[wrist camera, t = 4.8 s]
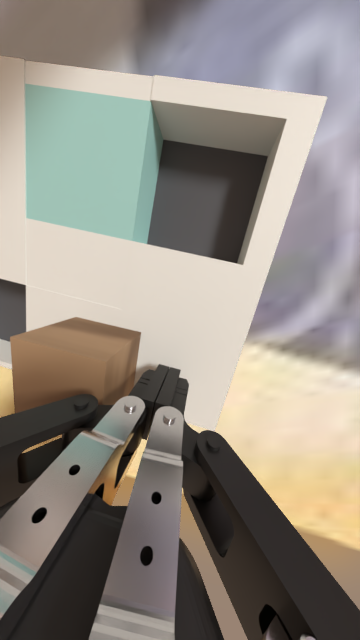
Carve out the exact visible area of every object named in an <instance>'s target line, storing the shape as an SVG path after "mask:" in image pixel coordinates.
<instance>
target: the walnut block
mask: <svg viewBox="0 0 360 640" xmlns="http://www.w3.org/2000/svg"><path fill="white" fill-rule="evenodd" d="M140 338H141V332H138V331H134V330H129V329H125V328H121V327H117V326H112V325H108V324H104V323H100V322H95V321H91V320H87V319H83V318H79V317H74V318H71V319H67V320H64V321H61V322H58V323H54V324H51V325H48V326H44V327H41V328H38V329H35V330H31V331H28V332H25V333H21V334H18V335H15V336H12V337H10V343H11V359H12V374H13V390H14V405H15V413H18V412H21V411H25V410H28V409H32V408H35V407H38V406H42V405H45V404H48V403H52V402H55V401H59V400H62V399H65V398H69V397H72V396H75V395H79V394H90V395H93V396H95V397H96V398H97V400H98V405H114V404H116V402H117V401H118V400H119V399H121V398H123V397H125V396H128V395H129V393H130V392H131V390H132V389H133V387H134V380H135V373H136V366H137V359H138V352H139V345H140Z"/></svg>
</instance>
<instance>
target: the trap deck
mask: <svg viewBox="0 0 360 640" xmlns="http://www.w3.org/2000/svg"><path fill="white" fill-rule="evenodd" d="M326 100H327V97H325V96H317V95H309V94H301V93H293V92H285V91H277V90H269V89H261V88H253V87H245V86H237V85H229V84H221V83H213V82H205V81H197V80H190V79H182V78H174V77H166V76H158V75H154V77H153V76H145V75H137V74H129V73H121V72H113V71H105V70H97V69H90V68H82V67H74V66H66V65H58V64H50V63H42V62H34V61H26V60H24V59H23V58H15V57H7V56H0V366H2V367H5V368H9V369H12V359H11V343H10V337H12V336H15V335H18V334H21V333H25V332H28V331H31V330H35V329H38V328H41V327H44V326H48V325H51V324H54V323H58V322H61V321H64V320H67V319H71V318H74V317H79V318H83V319H87V320H91V321H95V322H100V323H104V324H108V325H112V326H117V327H121V328H125V329H129V330H134V331H138V332H141V338H140V345H139V352H138V359H137V366H136V373H135V380H134V386H135V384H136V383H137V382H138V380H139V379H140V377H141V376H142V374H143V373H144V372H145V371H147V370H149V369H151V370H154V371H155V370H156V368H157V367H158V365H159V364H161V365H165V366H169V367H173V368H176V369H180V370H181V371H180V376H179V377H180V378H184V379H187V381H188V383H189V388H188V394H187V400H186V406H185V411H184V419H185V421H186V423H189V424H192V425H195V426H199V427H202V428H205V429H208V430H212V431H215V428H216V425H217V422H218V419H219V417H220V414H221V411H222V408H223V405H224V402H225V399H226V396H227V393H228V390H229V387H230V384H231V381H232V378H233V375H234V372H235V369H236V366H237V363H238V360H239V357H240V354H241V351H242V348H243V345H244V342H245V340H246V337H247V334H248V331H249V328H250V325H251V322H252V319H253V316H254V313H255V310H256V307H257V304H258V301H259V298H260V295H261V292H262V289H263V286H264V283H265V280H266V277H267V274H268V271H269V268H270V266H271V263H272V260H273V257H274V254H275V251H276V248H277V245H278V242H279V239H280V236H281V233H282V230H283V227H284V224H285V221H286V218H287V215H288V212H289V209H290V206H291V203H292V200H293V197H294V194H295V192H296V189H297V186H298V183H299V180H300V177H301V174H302V171H303V168H304V165H305V162H306V159H307V156H308V153H309V150H310V147H311V144H312V141H313V138H314V135H315V132H316V129H317V126H318V123H319V120H320V117H321V115H322V112H323V109H324V106H325V103H326ZM169 369H170V368H169Z"/></svg>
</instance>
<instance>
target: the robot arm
mask: <svg viewBox="0 0 360 640" xmlns="http://www.w3.org/2000/svg"><path fill="white" fill-rule="evenodd" d="M169 368H170V369H169ZM180 371H181V370H180V369H176V368H173V367H169V366H165V365H161V364H159V365H158V367H157V368H156V370H155V371H154V370H151V369H149V370H147V371H145V372H144V373H143V374H142V376H141V377H140V379H139V380H138V382H137V383H136V384H135V386H134V387H133V389H132V390H131V392H130V393H129V395H128V396H125V397H123V398H121V399H119V400H118V401H117V402H116V404H114V405H98V400H97V398H96V397H95V396H93V395H90V394H79V395H75V396H72V397H69V398H65V399H62V400H59V401H55V402H52V403H48V404H45V405H42V406H38V407H35V408H32V409H28V410H25V411H21V412H18V413H15V414H11V415H8V416H5V417H1V418H0V640H224V638H223V635H222V633H221V630H220V627H219V624H218V621H217V619H216V616H215V613H214V610H213V608H212V605H211V602H210V599H209V596H208V594H207V591H206V588H205V585H204V582H203V580H202V577H201V574H200V572H199V569H198V567H197V565H196V563H195V560H194V558H193V556H192V555H191V553H190V551H189V550H188V548H187V546H186V545H185V544H184V543H183V541H182V540H181V539H180V538H179V532H180V514H181V496H182V488H183V492H184V496H185V499H186V501H187V503H188V505H189V507H190V510H191V512H192V514H193V517H194V519H195V521H196V523H197V526H198V528H199V530H200V532H201V534H202V537H203V539H204V541H205V544H206V546H207V548H208V550H209V553H210V555H211V557H212V559H213V562H214V564H215V566H216V568H217V571H218V573H219V575H220V578H221V580H222V582H223V584H224V587H225V589H226V591H227V593H228V595H229V598H230V600H231V602H232V605H233V607H234V609H235V611H236V614H237V616H238V618H239V620H240V623H241V625H242V627H243V629H244V632H245V634H246V636H247V638H248V640H360V610H359V609H358V608H357V606H356V605H355V604H354V603H353V601H352V600H351V599H350V598H349V596H348V595H347V594H346V593H345V591H344V590H343V589H342V587H341V586H340V585H339V584H338V582H337V581H336V580H335V579H334V577H333V576H332V575H331V573H330V572H329V571H328V570H327V568H326V567H325V566H324V565H323V563H322V562H321V561H320V560H319V558H318V557H317V556H316V554H315V553H314V552H313V551H312V549H311V548H310V547H309V546H308V544H307V543H306V542H305V541H304V539H303V538H302V537H301V535H300V534H299V533H298V532H297V530H296V529H295V528H294V527H293V525H292V524H291V523H290V521H289V520H288V519H287V518H286V516H285V515H284V514H283V513H282V511H281V510H280V509H279V508H278V506H277V505H276V504H275V502H274V501H273V500H272V499H271V497H270V496H269V495H268V494H267V492H266V491H265V490H264V488H263V487H262V486H261V485H260V483H259V482H258V481H257V480H256V478H255V477H254V476H253V475H252V473H251V472H250V471H249V469H248V468H247V467H246V466H245V464H244V463H243V462H242V461H241V459H240V458H239V457H238V455H237V454H236V453H235V452H234V450H233V449H232V448H231V447H230V445H229V444H228V443H227V442H226V440H225V439H224V438H223V437H222V436H221V435H220V434H218V433H216V432H214V431H210V430H206V431H202V432H201V433H200V434H199V433H197V432H196V431H194V430H193V429H191V428H190V427H189V426H188V425H187V423H186V421H185V419H184V411H185V406H186V400H187V394H188V388H189V383H188V381H187V379H184V378H180V377H179V376H180ZM61 434H62V438H59V439H57V440H54V441H52V442H50V443H47V444H45V445H43V446H40V447H38V448H36V449H33V450H31V451H28V452H26V453H22V452H23V451H24V450H26V449H27V448H29V447H32V446H34V445H36V444H39V443H41V442H44V441H46V440H49V439H51V438H54V437H56V436H58V435H61ZM148 435H149V437H148ZM147 438H148V441H147V444H146V448H145V451H144V452H143V455H142V458H141V462H140V465H139V469H138V472H137V476H136V479H135V483H134V486H133V490H132V493H131V497H130V500H129V504H128V506H112V503H113V501H114V498H115V496H116V494H117V491H118V489H119V487H120V485H121V483H122V481H123V479H124V477H125V475H126V473H127V471H128V469H129V467H130V465H131V463H132V461H133V459H134V457H135V455H136V452H137V448H138V446H139V444H140V442H141V439H145V440H147Z"/></svg>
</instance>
